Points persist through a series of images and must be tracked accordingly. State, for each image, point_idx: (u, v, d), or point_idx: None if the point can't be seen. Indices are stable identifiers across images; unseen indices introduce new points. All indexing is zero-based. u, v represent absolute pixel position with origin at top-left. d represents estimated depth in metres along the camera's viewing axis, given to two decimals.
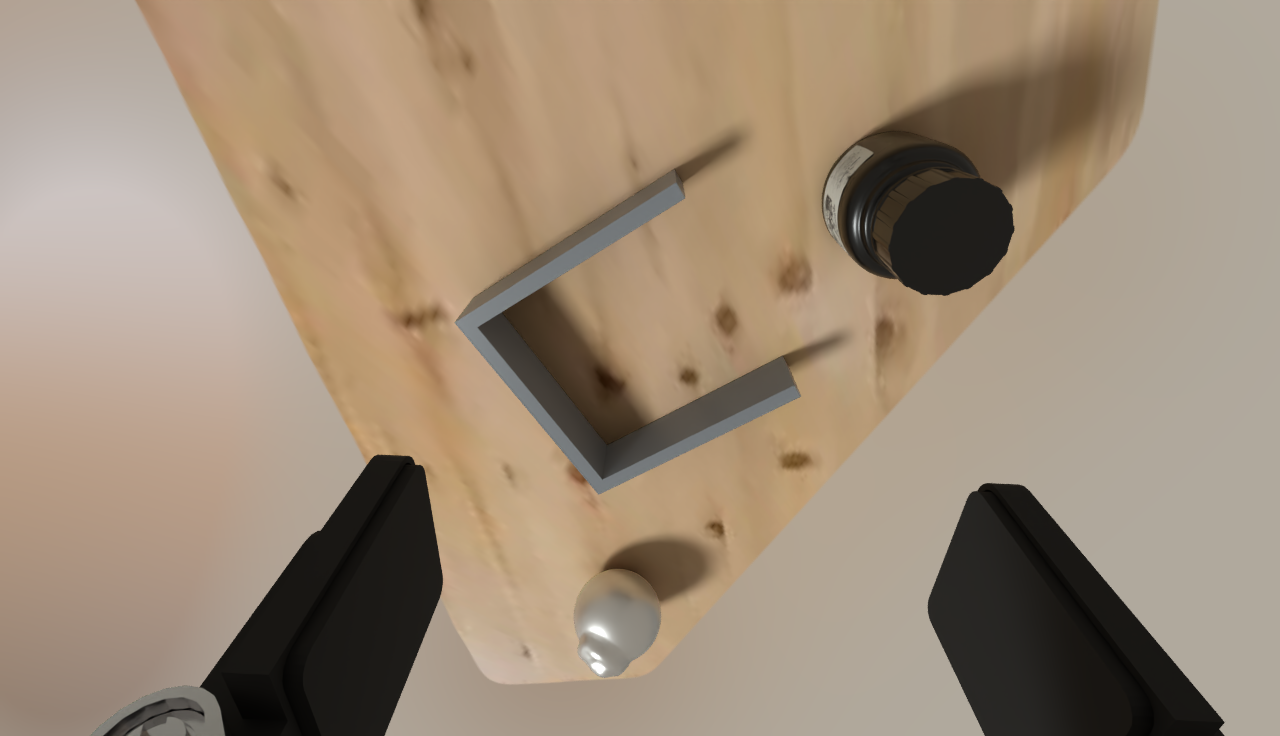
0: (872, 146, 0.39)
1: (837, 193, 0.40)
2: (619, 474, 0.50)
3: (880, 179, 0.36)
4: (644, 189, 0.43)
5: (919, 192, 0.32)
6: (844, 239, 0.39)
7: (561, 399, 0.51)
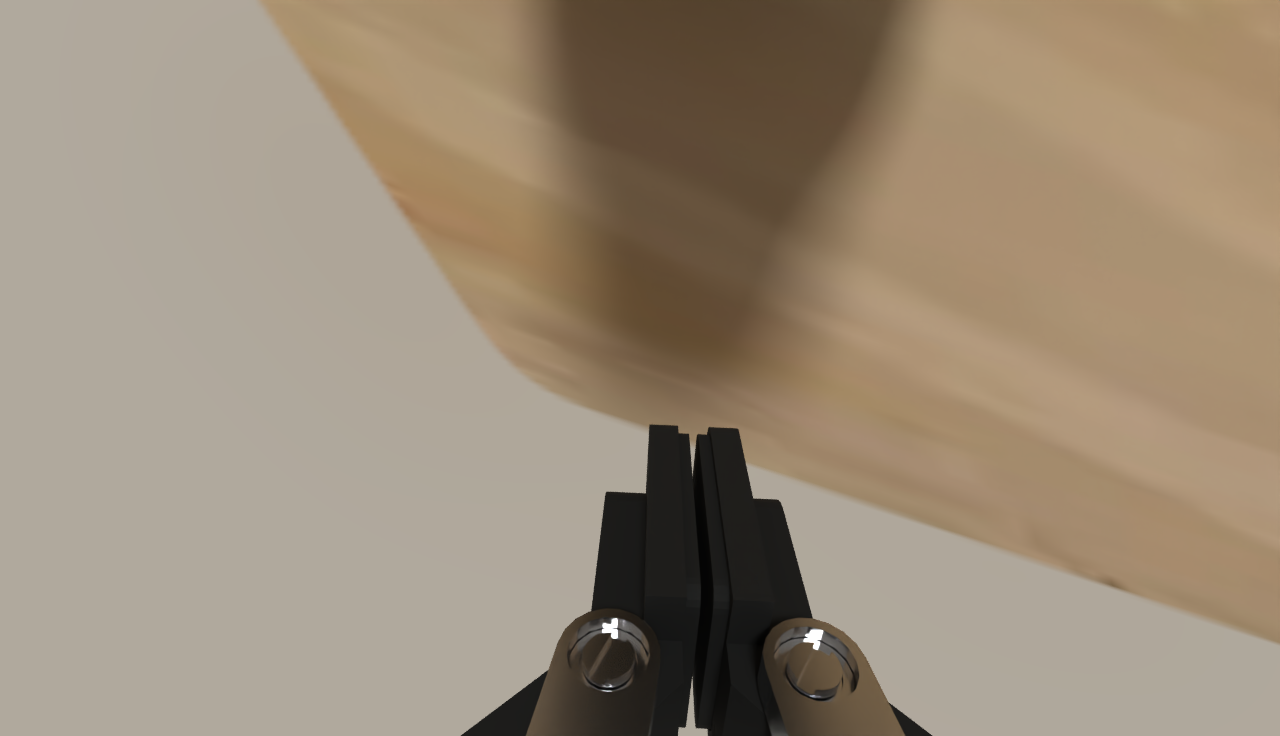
0: None
1: None
2: None
3: None
4: None
5: None
6: None
7: None
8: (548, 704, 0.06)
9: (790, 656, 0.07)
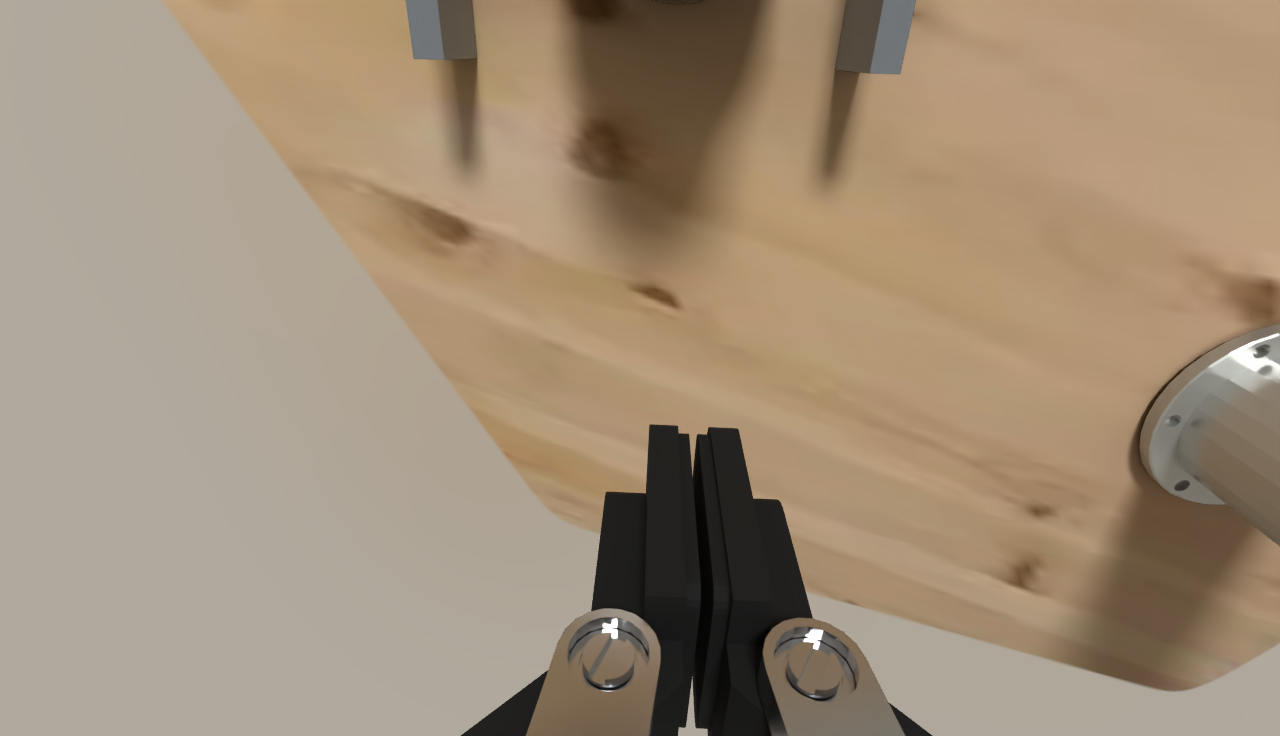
0: None
1: None
2: None
3: None
4: None
5: None
6: None
7: None
8: (548, 704, 0.06)
9: (790, 656, 0.07)
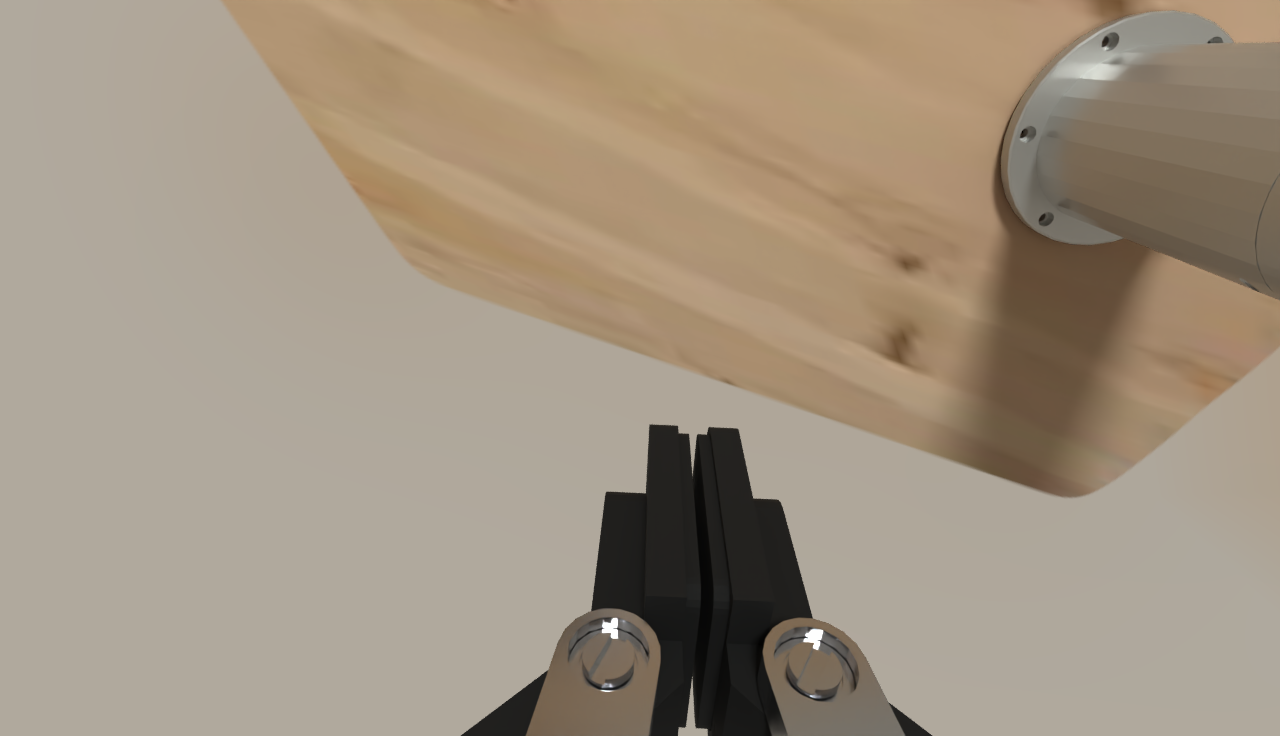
0: None
1: None
2: None
3: None
4: None
5: None
6: None
7: None
8: (548, 704, 0.06)
9: (790, 656, 0.07)
